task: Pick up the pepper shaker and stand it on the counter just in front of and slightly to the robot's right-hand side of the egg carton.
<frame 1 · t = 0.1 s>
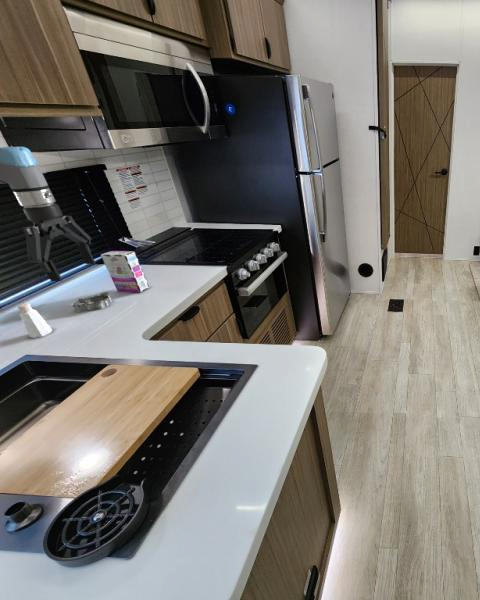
hand: (74, 271, 106), 20 cm above the worktop, tool pointing down, fingers open, 13 cm apart
candy bar box: (134, 289, 139), on the worktop
pepper shaker: (41, 334, 111), on the worktop
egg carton: (94, 306, 127), on the worktop
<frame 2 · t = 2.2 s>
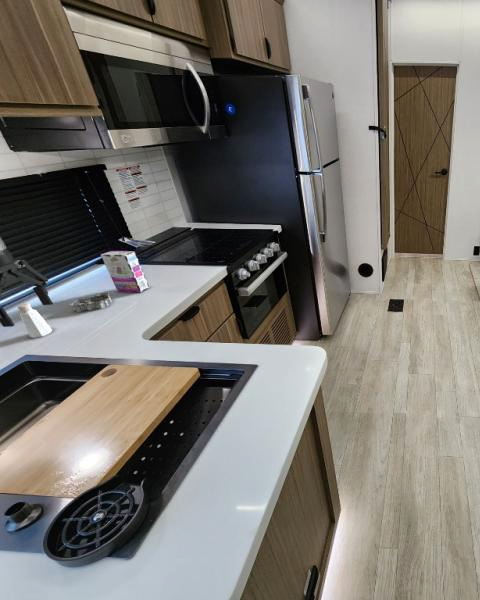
hand: (29, 314, 107), 7 cm above the worktop, tool pointing down, fingers open, 13 cm apart
nothing on the worktop moved.
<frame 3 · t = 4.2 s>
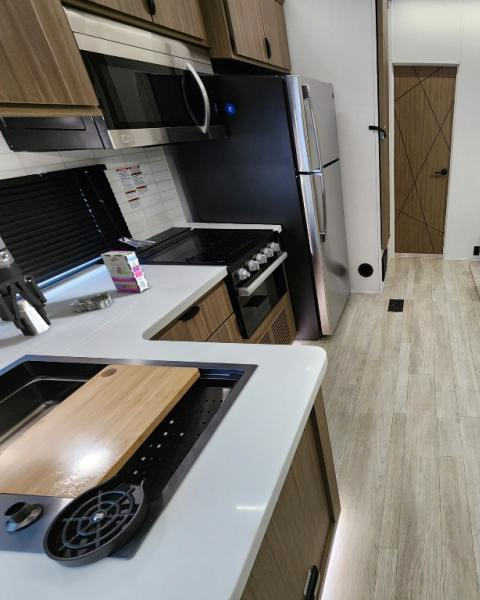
hand: (38, 329, 110), 1 cm above the worktop, tool pointing down, fingers closed on pepper shaker, 5 cm apart
pepper shaker: (38, 331, 110), point 1 cm above the worktop, touching gripper
everything else where it was.
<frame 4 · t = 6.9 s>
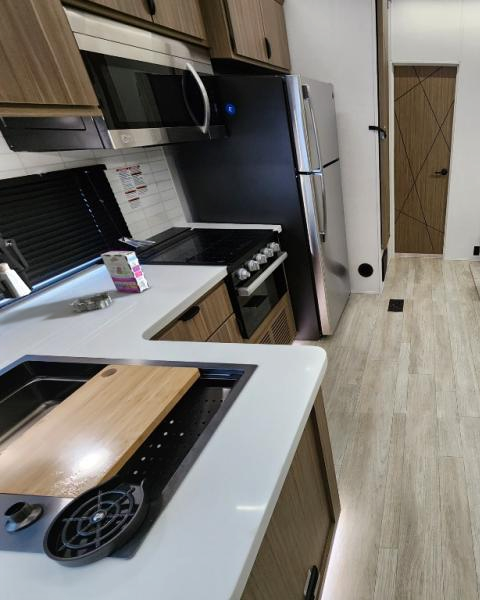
hand: (20, 293, 112), 11 cm above the worktop, tool pointing down, fingers closed on pepper shaker, 5 cm apart
pepper shaker: (20, 295, 112), point 11 cm above the worktop, touching gripper
everything else where it was.
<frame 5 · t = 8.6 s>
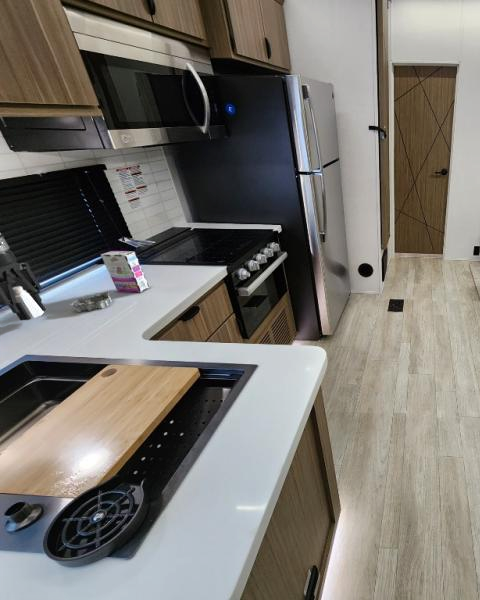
hand: (33, 314, 116), 3 cm above the worktop, tool pointing down, fingers closed on pepper shaker, 5 cm apart
pepper shaker: (33, 316, 116), point 2 cm above the worktop, touching gripper
everything else where it was.
when the fingers open (0 cm above the worktop, at t = 9.6 s): pepper shaker stays where it is, on the worktop.
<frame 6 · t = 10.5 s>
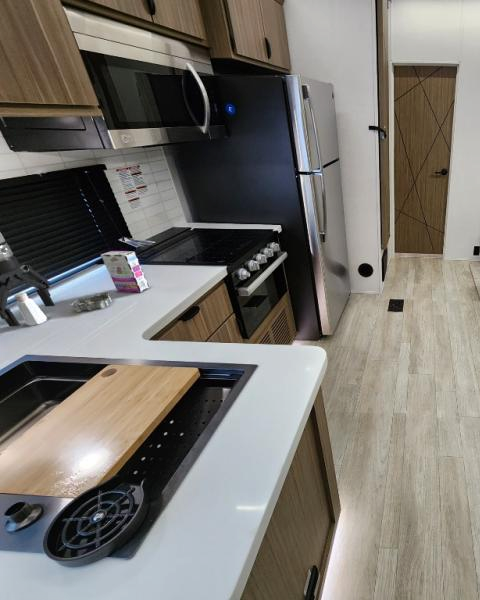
hand: (33, 315, 116), 3 cm above the worktop, tool pointing down, fingers open, 13 cm apart
pepper shaker: (37, 322, 117), on the worktop
everything else where it was.
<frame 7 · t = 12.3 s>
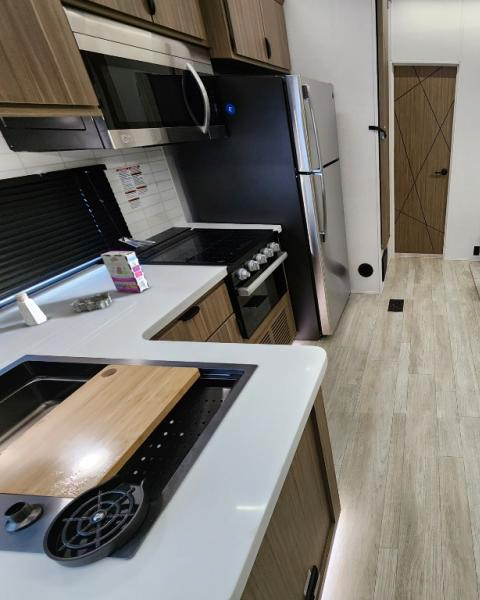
nothing on the worktop moved.
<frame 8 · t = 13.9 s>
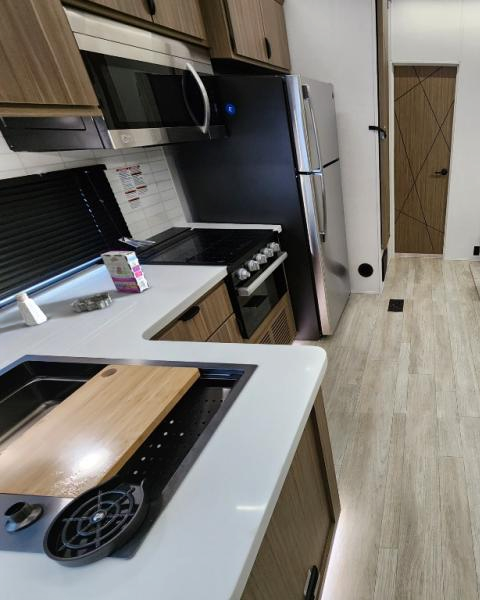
nothing on the worktop moved.
at the end: pepper shaker inside the target area on the worktop beside the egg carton (0.2 cm from its centre), on the worktop; pepper shaker tilted 0°; the gripper is holding nothing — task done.
